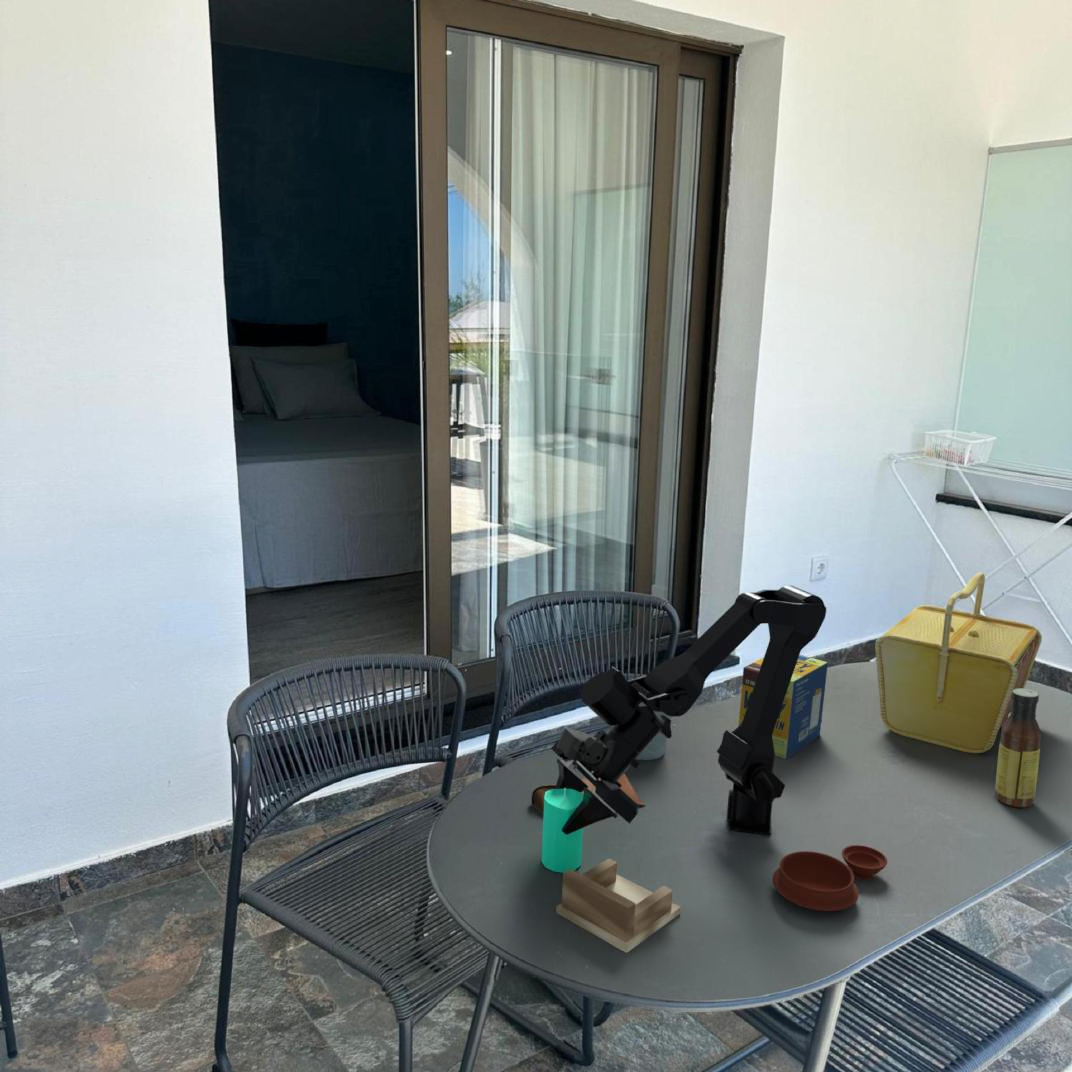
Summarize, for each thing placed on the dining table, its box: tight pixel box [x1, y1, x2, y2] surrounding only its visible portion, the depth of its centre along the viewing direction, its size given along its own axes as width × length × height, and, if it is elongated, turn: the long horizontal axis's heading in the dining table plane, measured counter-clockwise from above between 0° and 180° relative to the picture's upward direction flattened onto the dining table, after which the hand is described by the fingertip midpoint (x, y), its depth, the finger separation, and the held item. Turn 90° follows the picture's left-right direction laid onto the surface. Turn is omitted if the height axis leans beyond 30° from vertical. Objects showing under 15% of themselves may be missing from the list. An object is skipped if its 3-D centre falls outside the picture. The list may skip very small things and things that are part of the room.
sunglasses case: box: [531, 772, 646, 816], centre depth 161 cm, size 18×7×7 cm
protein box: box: [738, 653, 829, 760], centre depth 187 cm, size 10×15×16 cm
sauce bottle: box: [994, 688, 1042, 808], centre depth 165 cm, size 6×6×20 cm
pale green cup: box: [636, 702, 672, 761], centre depth 181 cm, size 10×10×12 cm
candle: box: [541, 788, 584, 873], centre depth 142 cm, size 6×6×12 cm
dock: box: [555, 858, 682, 954], centre depth 131 cm, size 12×12×6 cm
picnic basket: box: [874, 571, 1043, 754], centre depth 195 cm, size 29×26×30 cm
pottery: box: [772, 844, 888, 912], centre depth 139 cm, size 12×20×4 cm, turn 125°
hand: (555, 822), depth 141 cm, fingers closed on candle, 5 cm apart
